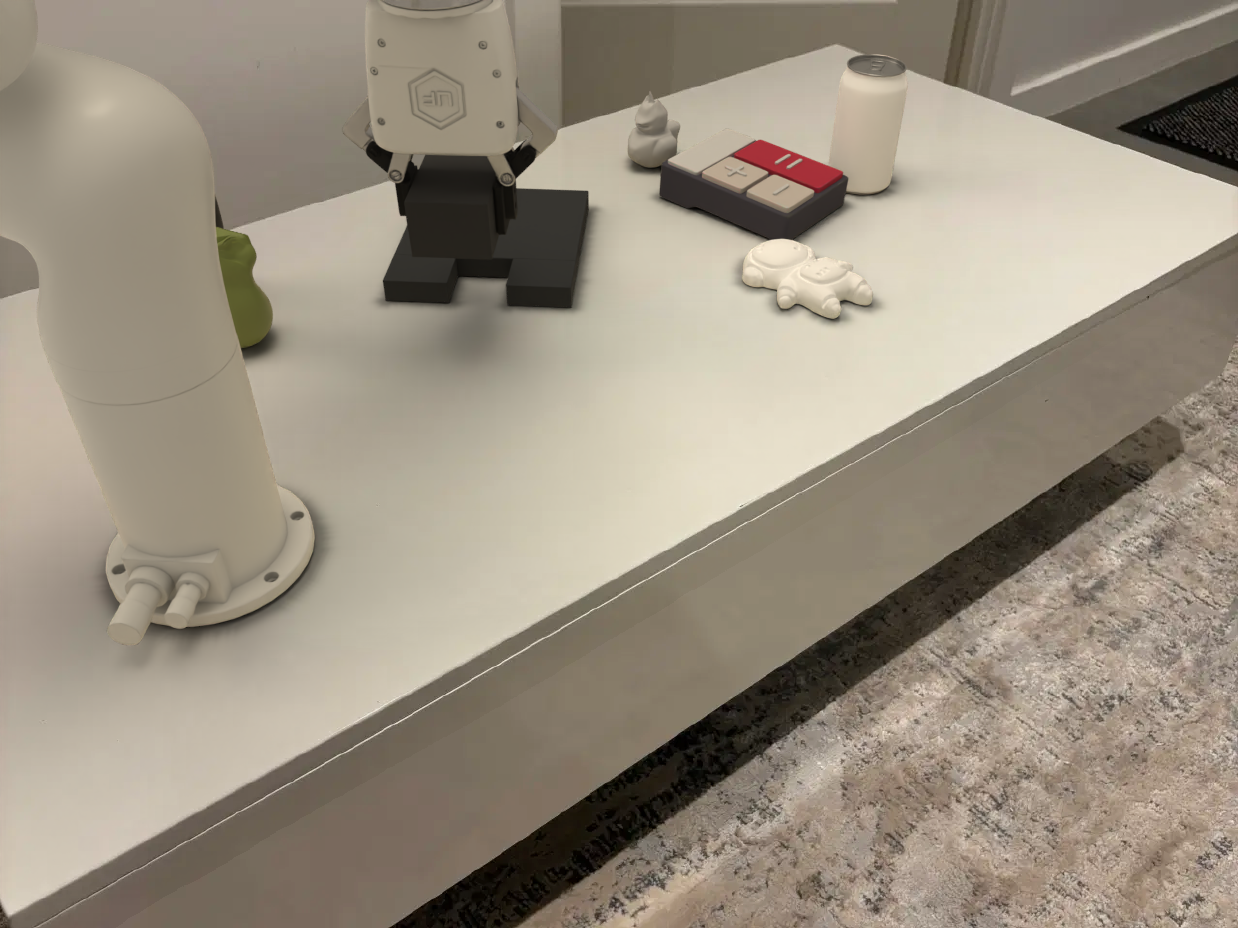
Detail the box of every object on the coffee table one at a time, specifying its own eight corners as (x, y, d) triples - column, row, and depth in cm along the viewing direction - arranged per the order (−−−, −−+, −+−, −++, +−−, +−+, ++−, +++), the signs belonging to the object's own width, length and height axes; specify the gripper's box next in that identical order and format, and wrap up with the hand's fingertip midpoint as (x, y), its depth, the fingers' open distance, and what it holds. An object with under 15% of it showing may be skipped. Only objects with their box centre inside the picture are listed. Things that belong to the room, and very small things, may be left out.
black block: (492, 260, 80) (487, 204, 77) (411, 257, 80) (403, 202, 77) (514, 184, 89) (510, 132, 86) (441, 182, 89) (435, 130, 86)
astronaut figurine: (809, 331, 90) (814, 300, 88) (722, 268, 97) (724, 238, 95) (887, 301, 93) (893, 270, 91) (797, 243, 101) (801, 213, 99)
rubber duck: (613, 163, 114) (614, 88, 109) (658, 145, 117) (661, 72, 112) (649, 180, 111) (651, 104, 106) (694, 162, 114) (698, 87, 109)
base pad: (571, 308, 92) (570, 287, 91) (385, 300, 93) (382, 280, 92) (588, 209, 106) (588, 190, 105) (426, 203, 107) (424, 184, 105)
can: (821, 190, 109) (837, 72, 101) (832, 164, 114) (848, 49, 106) (885, 200, 108) (907, 81, 100) (894, 173, 112) (915, 57, 105)
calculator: (790, 210, 98) (660, 155, 105) (782, 251, 101) (657, 196, 108) (852, 169, 105) (726, 120, 111) (843, 209, 107) (721, 159, 114)
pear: (194, 350, 87) (161, 238, 80) (238, 317, 91) (209, 208, 84) (251, 367, 85) (221, 254, 79) (292, 333, 89) (268, 223, 82)
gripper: (286, -7, 68) (336, 246, 80) (559, -1, 67) (568, 253, 79) (318, -43, 74) (360, 198, 86) (570, -38, 73) (577, 204, 85)
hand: (460, 223), depth 82 cm, fingers closed on black block, 6 cm apart
